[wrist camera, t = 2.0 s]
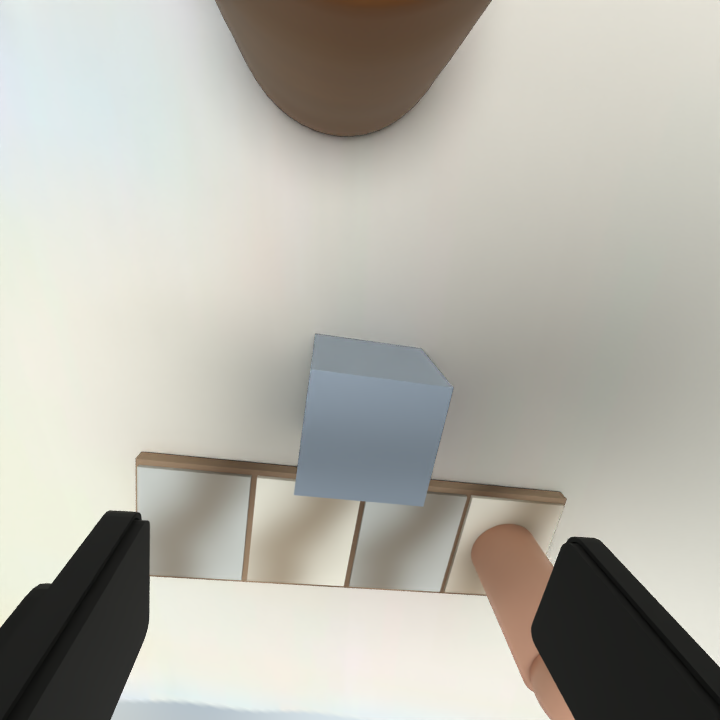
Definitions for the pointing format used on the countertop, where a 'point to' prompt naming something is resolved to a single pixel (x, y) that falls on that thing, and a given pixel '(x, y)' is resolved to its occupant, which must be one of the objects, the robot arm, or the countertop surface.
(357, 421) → the light blue cube
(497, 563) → the pawn
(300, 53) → the mug
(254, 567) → the track
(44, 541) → the countertop surface
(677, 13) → the countertop surface
